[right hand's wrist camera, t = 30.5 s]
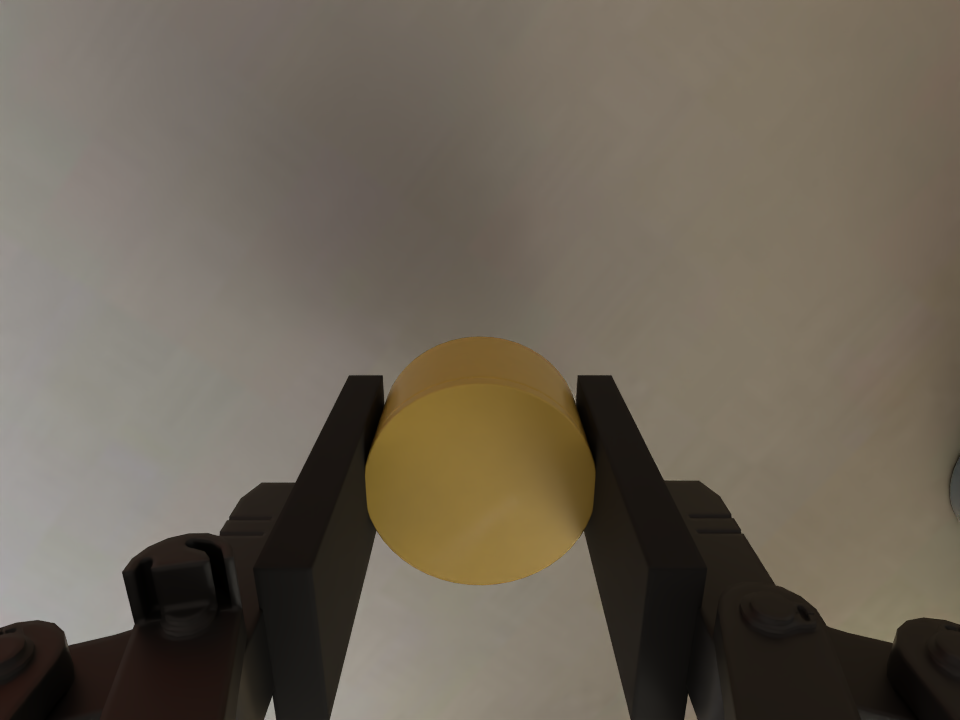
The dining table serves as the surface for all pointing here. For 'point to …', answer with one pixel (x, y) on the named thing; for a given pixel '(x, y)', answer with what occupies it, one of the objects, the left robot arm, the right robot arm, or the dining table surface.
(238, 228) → the dining table surface
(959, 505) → the bottle
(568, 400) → the cap
